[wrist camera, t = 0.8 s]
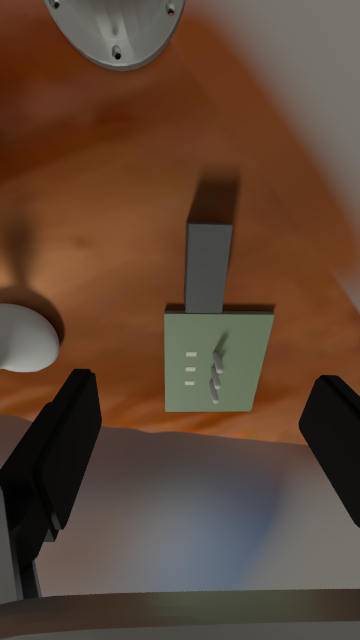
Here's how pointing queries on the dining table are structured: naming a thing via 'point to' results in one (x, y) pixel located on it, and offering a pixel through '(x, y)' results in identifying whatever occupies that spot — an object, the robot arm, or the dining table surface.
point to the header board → (214, 359)
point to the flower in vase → (26, 339)
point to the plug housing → (206, 266)
